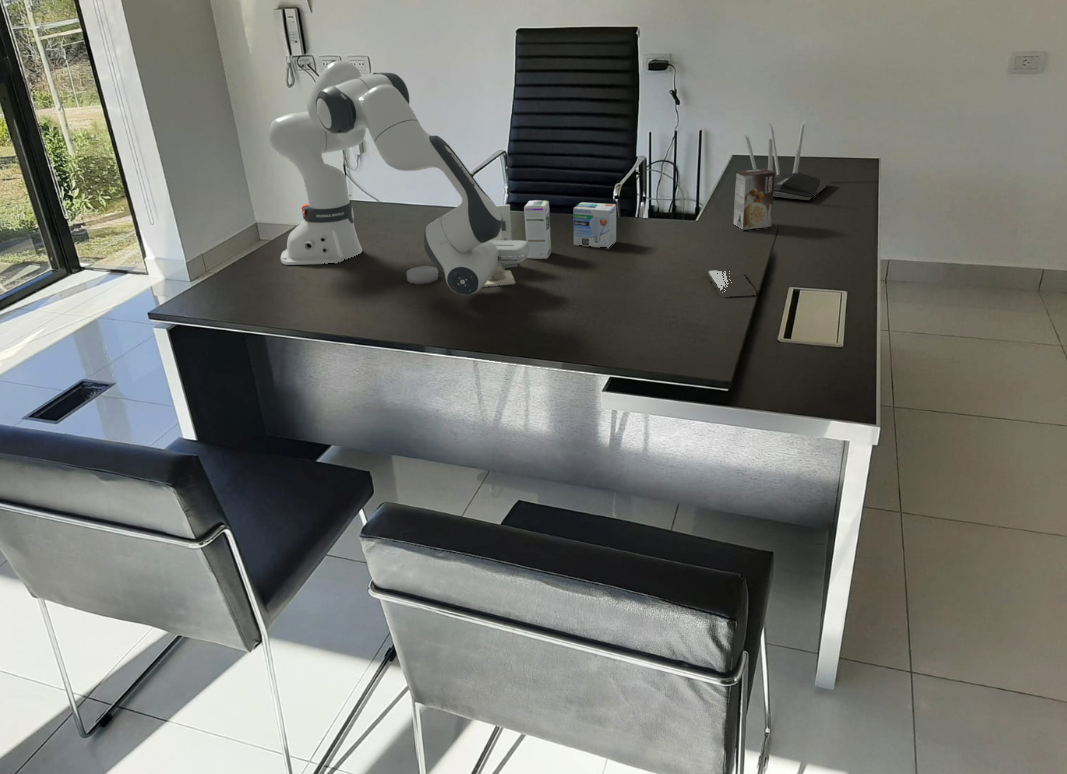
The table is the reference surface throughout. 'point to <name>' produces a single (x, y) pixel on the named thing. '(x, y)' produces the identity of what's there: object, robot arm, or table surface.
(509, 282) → the pad
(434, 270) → the grey hockey puck
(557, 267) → the table surface
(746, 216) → the coffee box
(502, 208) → the breaker panel
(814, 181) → the wireless router
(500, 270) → the metal bottle
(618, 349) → the table surface
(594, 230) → the light bulb box
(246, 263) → the table surface
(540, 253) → the syrup box
